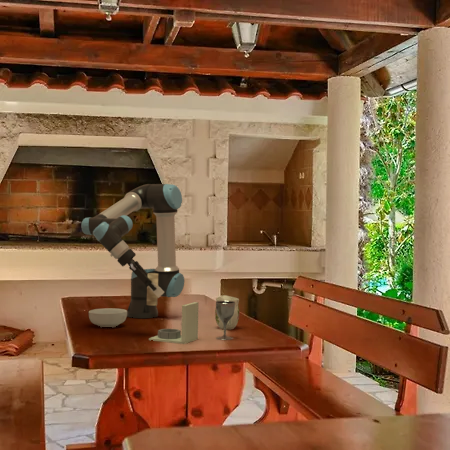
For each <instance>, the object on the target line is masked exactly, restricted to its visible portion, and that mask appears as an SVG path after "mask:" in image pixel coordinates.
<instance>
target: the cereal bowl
mask: <svg viewBox="0 0 450 450" xmlns="http://www.w3.org/2000/svg"><path fill="white" fill-rule="evenodd" d="M127 310H128V309H123V308H114V307H113V308H111V307H110V308H108V307H106V308H95V309H91V310H89V311H88V319H89V321H90V322H91V323H92V324H94V325H96V326H98V327H99V326H100V328H102V327H112V328H116V326H117V327H118V326H119V325H120V324H123V323H124V322H125V321H126V320H127V317H128V316H127Z"/></svg>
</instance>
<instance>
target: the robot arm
mask: <svg viewBox="0 0 450 450" xmlns="http://www.w3.org/2000/svg"><path fill="white" fill-rule="evenodd" d="M182 204H183V196H182V191H181V190H180V188H179V187H178V186H177V185H175V184H173V183H171V184H170V183H169V184H168V183H156V184H155V183H152V184H151V183H147V184H143V185H140V186H138V187H136V188H134V189H132V190H130V191H128V192H127V193H126V194H125V195H124V197H123V198H122V199H120V200H119V201H117V202H116V203H114V204H113V205H111V206H109V207H108V208H106V209H105V210H103V211H102V212H100V213H99V214H97V215H95V216H92V217H91V216H90V217H85V218H83V219H82V221H81V227H80V228H81V231H82V233H83V234H85V235H89V236H94V237H95V239H96V240H97V241H98V242H99V243H100V244H101V245H102V246H103V248H105V250H107V251H108V253H110V257H113V258H114V259H115V260H117V262H118V264H119V265H120V266H121V267H124V266H126V265H128V266H129V267H128V268H129V270H130V271H131V278H130V302H129V303H128V304H129V305H128V306H127V307H128V308H127V309H126V310H127V317H128V318H132V317H133V318H132V319H152V318H153V317H154V318H157V317H159V311H158V307H157V305H155V306H151V305H147V287H149V288H150V289H151V291H152V292H153V293H154V294H155V295H156V296H157V299H159V298H160V297H167V298H176V297H179V296H180V295H181V293H182V291H183V289H184V286H185V276H184V274H183V273H181V272H180V267H178V266H177V263H176V262H177V259H176V257H177V256H176V225H175V224H176V222H175V220H176V219H175V215H177V214H178V209H180V208H181V207H182ZM141 209H152V214H154V216H155V218H156V248H157V267H156V268H146V269H145V268H143V267H142V265H141V264H140V263H139V261H137V260H136V261H135V259H134V257H135V256H136V253H135V252H134V250H133V249H132V248H130V246H129V245H128V244H127V242H125V240H123V239H122V238H123V237H124V236H125V235H127V234H129V232H130V231H131V230H132V229H133V224H134V223H133V220H132V219H131V217H130V216H128V215H130V214H131V213H132V212H133V213H134V212H138V211H139V210H141ZM148 273H157V274H158V287H157V286H156V285H155V284H154V283H153V282H152V281H151V280H150V279H149V278H148Z"/></svg>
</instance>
